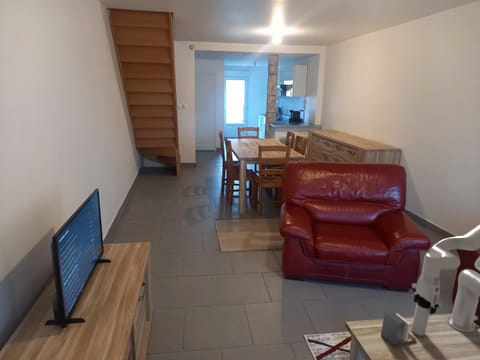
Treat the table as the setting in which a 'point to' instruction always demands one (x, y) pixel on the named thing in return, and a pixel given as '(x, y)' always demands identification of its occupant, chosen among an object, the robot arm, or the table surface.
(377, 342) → the table surface
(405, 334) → the white flat slab
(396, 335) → the grey bracket
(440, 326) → the table surface
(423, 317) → the travel mug
